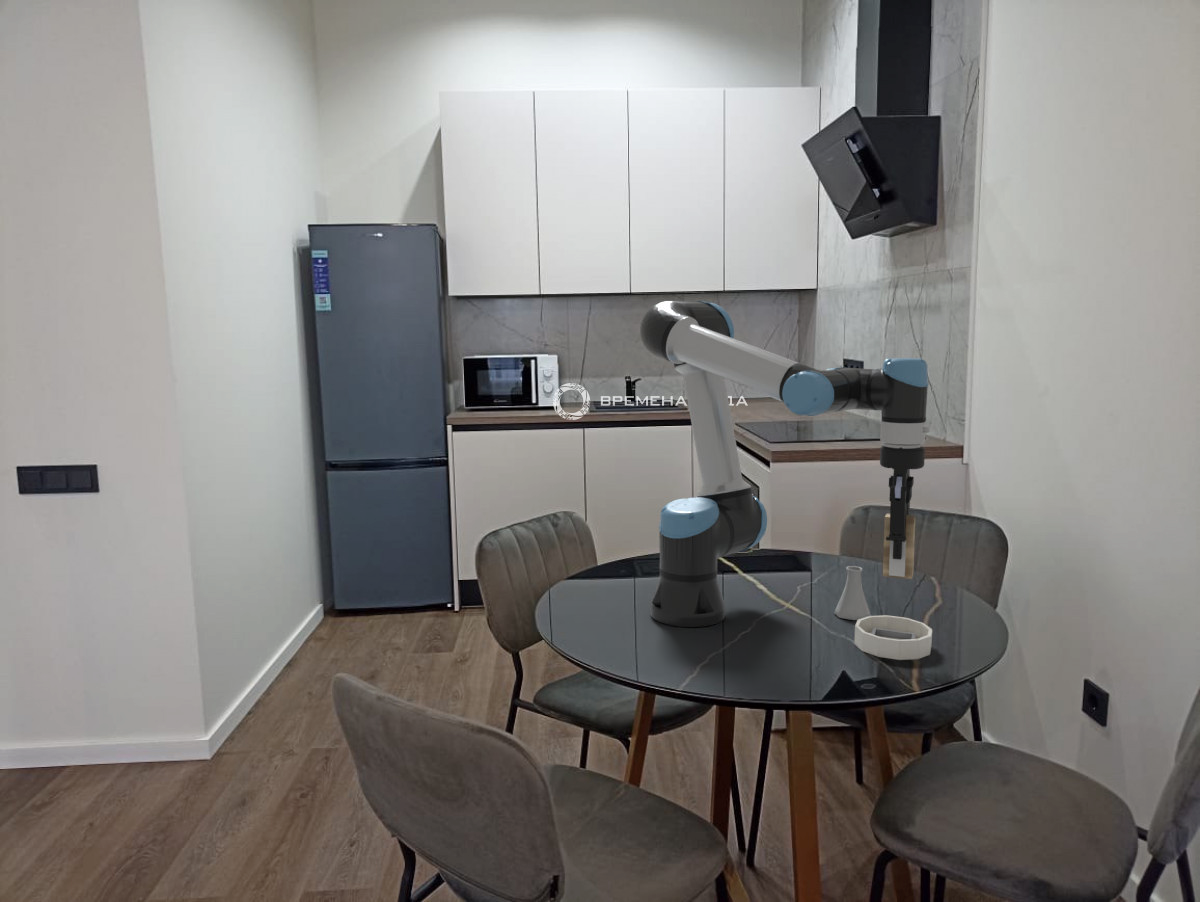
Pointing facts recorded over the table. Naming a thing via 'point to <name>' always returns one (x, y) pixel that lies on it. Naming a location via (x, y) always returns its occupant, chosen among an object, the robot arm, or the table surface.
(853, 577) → the flask
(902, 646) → the white round dish
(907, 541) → the wooden block
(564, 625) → the table surface
